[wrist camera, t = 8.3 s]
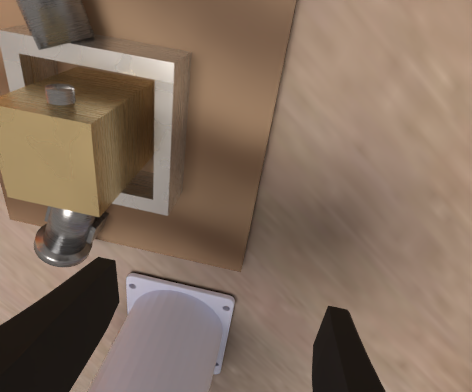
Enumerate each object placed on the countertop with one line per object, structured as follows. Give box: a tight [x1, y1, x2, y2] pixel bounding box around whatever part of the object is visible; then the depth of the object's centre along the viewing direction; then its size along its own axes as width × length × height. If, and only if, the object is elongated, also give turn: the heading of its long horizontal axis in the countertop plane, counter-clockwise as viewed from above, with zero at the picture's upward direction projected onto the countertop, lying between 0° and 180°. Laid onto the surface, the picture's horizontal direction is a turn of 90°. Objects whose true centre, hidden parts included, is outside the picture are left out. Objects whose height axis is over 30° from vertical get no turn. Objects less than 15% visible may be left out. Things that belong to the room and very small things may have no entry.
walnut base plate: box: [0, 0, 297, 272], centre depth 19 cm, size 18×16×1 cm
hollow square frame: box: [0, 25, 192, 216], centre depth 17 cm, size 8×8×2 cm
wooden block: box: [0, 67, 154, 217], centre depth 16 cm, size 5×4×6 cm
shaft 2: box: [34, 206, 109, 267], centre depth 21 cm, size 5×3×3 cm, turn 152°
